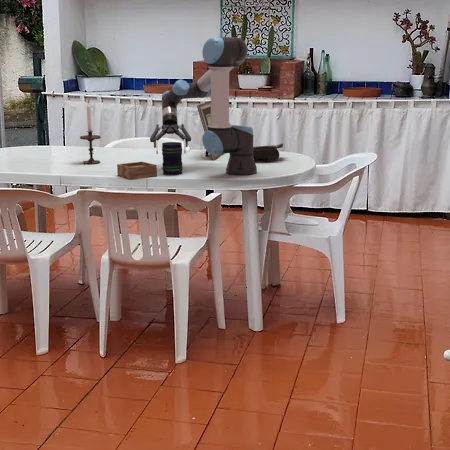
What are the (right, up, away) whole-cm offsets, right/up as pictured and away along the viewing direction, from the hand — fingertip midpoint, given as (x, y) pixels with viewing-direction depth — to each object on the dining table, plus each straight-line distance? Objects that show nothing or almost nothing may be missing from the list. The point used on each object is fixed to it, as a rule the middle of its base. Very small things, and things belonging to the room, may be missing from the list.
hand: (171, 152), depth 365 cm
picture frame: (+19, +3, +57) cm, 61 cm away
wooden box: (-16, -12, -4) cm, 20 cm away
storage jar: (+1, -11, +2) cm, 11 cm away
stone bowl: (+46, 0, +42) cm, 63 cm away
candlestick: (-45, -2, +37) cm, 59 cm away
